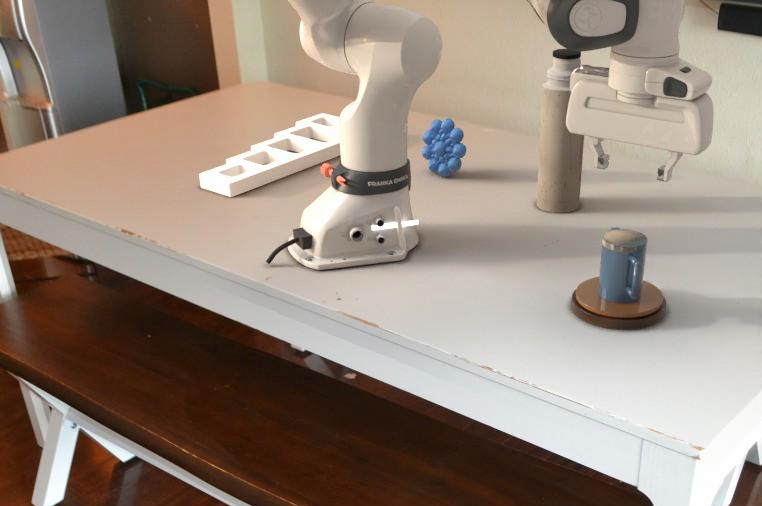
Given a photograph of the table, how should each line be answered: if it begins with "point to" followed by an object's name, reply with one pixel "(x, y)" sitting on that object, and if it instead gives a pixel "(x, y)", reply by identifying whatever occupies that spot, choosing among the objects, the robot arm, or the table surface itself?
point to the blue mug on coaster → (621, 279)
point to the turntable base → (615, 321)
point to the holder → (277, 156)
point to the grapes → (443, 147)
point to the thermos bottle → (559, 139)
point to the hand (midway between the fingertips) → (632, 173)
